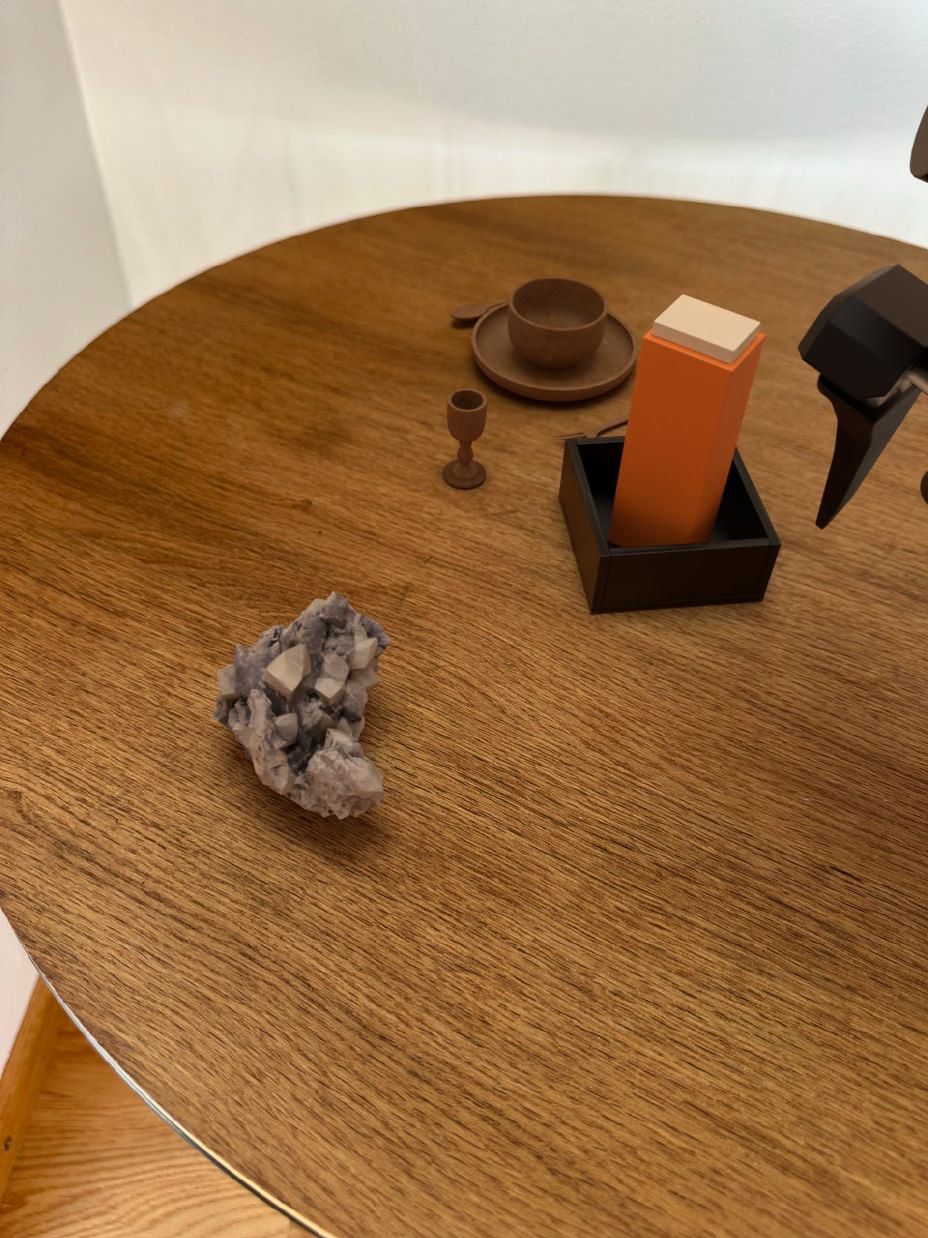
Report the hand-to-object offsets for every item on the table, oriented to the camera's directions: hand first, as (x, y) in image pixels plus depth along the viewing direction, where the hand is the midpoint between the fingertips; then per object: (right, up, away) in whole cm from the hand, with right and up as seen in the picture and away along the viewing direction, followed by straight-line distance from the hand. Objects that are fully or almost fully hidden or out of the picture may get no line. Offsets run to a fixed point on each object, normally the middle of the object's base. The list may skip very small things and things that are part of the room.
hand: (907, 591), depth 46 cm
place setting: (-16, +16, +30) cm, 38 cm away
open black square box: (-7, +3, +19) cm, 21 cm away
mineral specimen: (-27, -7, +9) cm, 29 cm away
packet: (-7, +4, +19) cm, 20 cm away
